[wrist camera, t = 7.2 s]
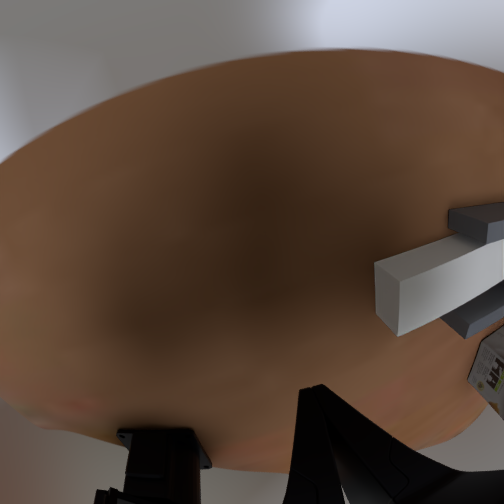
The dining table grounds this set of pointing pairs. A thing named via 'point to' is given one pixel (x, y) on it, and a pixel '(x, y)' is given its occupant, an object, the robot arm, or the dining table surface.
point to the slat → (434, 280)
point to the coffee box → (490, 371)
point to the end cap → (497, 297)
